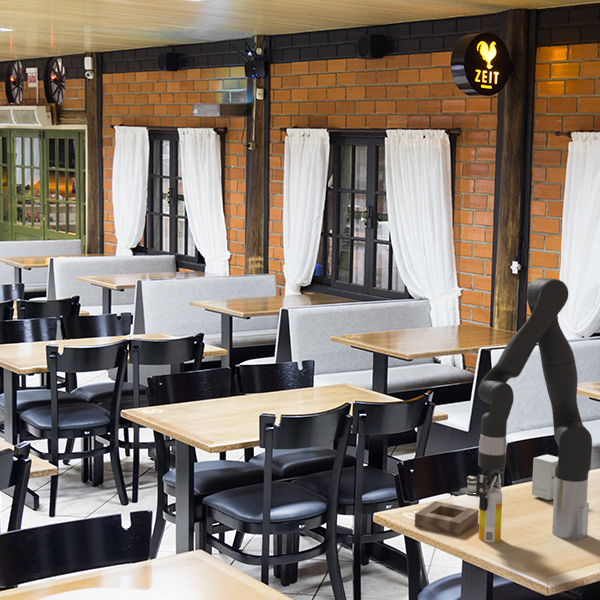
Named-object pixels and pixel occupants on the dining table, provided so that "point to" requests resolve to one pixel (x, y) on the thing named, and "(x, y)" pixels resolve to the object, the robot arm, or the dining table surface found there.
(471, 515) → the box holder
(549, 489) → the supplement box
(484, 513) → the beer can
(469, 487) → the pot lid
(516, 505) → the dining table surface
